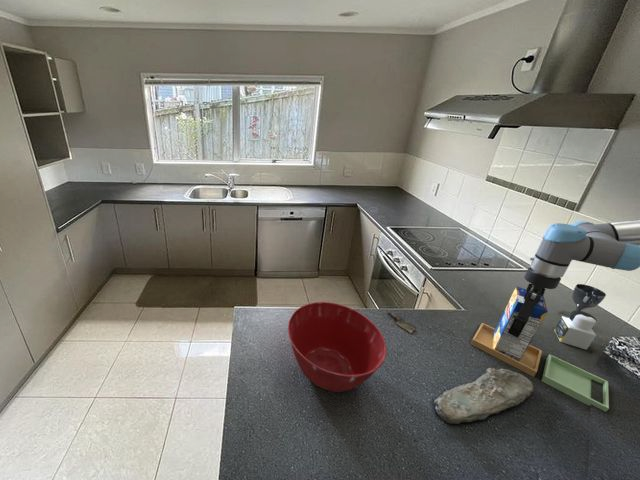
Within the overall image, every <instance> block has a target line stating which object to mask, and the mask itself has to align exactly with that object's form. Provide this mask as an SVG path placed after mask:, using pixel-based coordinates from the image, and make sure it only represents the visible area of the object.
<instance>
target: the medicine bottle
mask: <svg viewBox="0 0 640 480" xmlns="http://www.w3.org/2000/svg"><path fill="white" fill-rule="evenodd" d="M569 315H570V316H569V318H567V317H560V319H559V321H558V322H557V324H556V325H555V327H554V329H553V332H554V333H555V334H556V336H557V339H558V340H559V342H560V343H563V344H566V345H569V346H572V347H575V348H579V349H582V350H588V348H589V347H590V346H591V345H592V343H593V342H594V339H595V338H596V337H597V334H596V333H595V332H594V330H593V328H594V326H595V325H596V323H597V322H598V320H597V319H596V317H594V316H593V315H592V314H590V313H588V312H586V311H583V310H581V311H577V310H576V309H575V310H572V312H571V313H570V314H569Z"/></svg>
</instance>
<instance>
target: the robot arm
mask: <svg viewBox="0 0 640 480" xmlns="http://www.w3.org/2000/svg"><path fill="white" fill-rule="evenodd" d="M529 260H530V261H531V263H530V264H529V267H528V268H527V270H526V271H525V274H524V276H523V277H524V280H525V281H526V282H528V284H527V287H526V288H525V289H526V294H525V296H524V300H525V301H524V304H523V306H522V308H521V309H520V311H519V313H518V315H517V316H513V318H515V319H514V321H513V323H512V325H511V327H510V329H509V331H508V333H509V334H511V335H513V336H515V337H517V338H518V337H519V335H520V334H521V332H522V330H523V328H524V326H525V324H526V323H527V321H528V319H529V317H530V315H531V313H532V311H533V309H534V307H535V305H536V304H537V303H538V302H539V300H540V298H541V297H542V296H544V295H545V292H546V290H554V289H557V287H558V286H559V284H560V283H561V280H562V278H563V277H564V276H565V274H566V272H567V271H568V268H569V266H570V264H571V263H572V261H576V262H581V263H585V264H591V265H594V266H600V267H605V268H609V269H612V270H619V271H627V272H631V271H635V270H637V269H639V268H640V219H637V220H630V221H629V220H628V221H627V220H625V221H617V222H607V223H593V222H589V221H585V220H583V221H581V220H580V221H575V222H572V223H571V224H568V223H561V222H556V223H552V224H551V225H550V226H549V227H548V228H547V230H546V231H545V233H544V235H543V237H542V239H541V241H540V244H539V246H538V248H537V249H536V252H535V254H534V257H530V258H529ZM527 295H528V296H527Z"/></svg>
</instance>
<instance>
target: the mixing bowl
mask: <svg viewBox="0 0 640 480" xmlns="http://www.w3.org/2000/svg"><path fill="white" fill-rule="evenodd" d="M287 333H288V338H289V342H290V345H291V349H292V352H293V355H294V358H295V360H296V362H297V365H298V367H299V368H300V370H301V371H302V373H303V375H304V376H305V377H306V378H307V379H308V380H309V381H310V382H311V383H312V384H314V385H315V386H317V387H319V388H321V389H323V390H326V391H329V392H337V393H340V392H346V391H350V390H352V389H356V388H357V387H359V386H360V385H362V384H363V383H364V382H366V381H367V380H368V379H370V378H371V376H372V375H373V374H374V373H375V372H376V371H377V370H378V369H380V367H381V366H382V365H383V364H384V362H385V360H386V357H387V344H386V340H385V337H384V335H383V334H382V332H381V331H380V330H379V328H378V327H377V326H376V324H375V323H374V322H372V321H371V319H369V318H368V317H367V316H365V315H364V314H362V313H361V312H359V311H357V310H356V309H353V308H351V307H348V306H346V305H343V304H340V303H335V302H329V301H317V302H316V301H315V302H310V303H306V304H304V305H301V306H300V307H298V308H297V309H296V310H295V311H293V313H292V314H291V315H290V318H289V320H288V325H287Z"/></svg>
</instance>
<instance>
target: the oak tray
mask: <svg viewBox="0 0 640 480" xmlns="http://www.w3.org/2000/svg"><path fill="white" fill-rule="evenodd" d="M495 329H496V327H495V328H494V327H492V326H490V325H488V324H486V323H483V322H482V323H481V324H480V326H479V328H478V329H477V330H476V332H475V334H474V335H473V338H472V340H471V342H470V345H472V346H473V347H475V348H477V349H479V350H481V351H482V352H485V353H486V354H489V355H491V356H492V357H494V358H496V359H498V360H499V361H502V362H503V363H506V364H508V365H510V366H512V367H514V368H515V369H517V370H519V371H521V372H523V373H525V374H526V375H528V376H531V377H532V378H535V376H536V375H537V372H538V370H539V365H540V362H541V357H542V354H543V350H542V349H540V348H538V347H535V346H534V345H531V344H529V345H528V347H527V349H526V351H525V353H524V354H523V356H522V358H521V360H520V361H517V360H515V359H513V358H511V357H509V356H507V355H505V354H503V353H501V352H499V351H497V350H495V349H493V333H494V331H495Z"/></svg>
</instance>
